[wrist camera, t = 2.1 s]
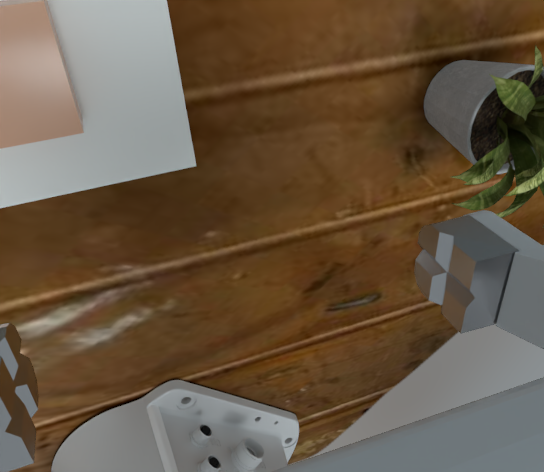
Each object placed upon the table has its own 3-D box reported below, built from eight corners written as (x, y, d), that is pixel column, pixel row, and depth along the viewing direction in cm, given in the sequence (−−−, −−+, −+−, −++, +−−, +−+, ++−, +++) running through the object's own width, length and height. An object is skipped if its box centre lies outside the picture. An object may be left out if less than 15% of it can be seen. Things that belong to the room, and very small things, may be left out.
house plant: (421, -67, 30) (697, -64, 17) (571, 0, 36) (863, 41, 23) (340, 155, 36) (497, 286, 23) (480, 181, 42) (669, 297, 29)
